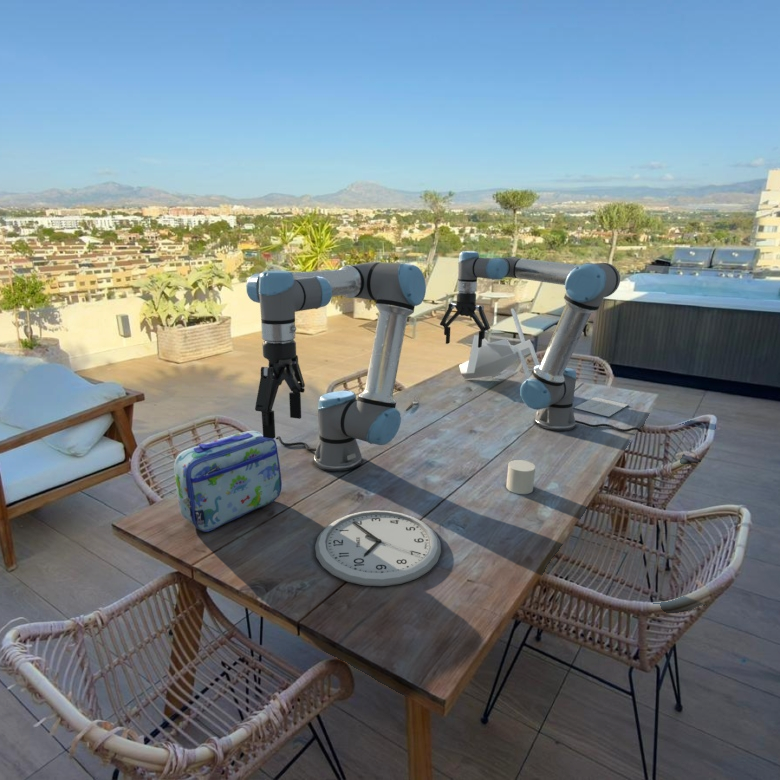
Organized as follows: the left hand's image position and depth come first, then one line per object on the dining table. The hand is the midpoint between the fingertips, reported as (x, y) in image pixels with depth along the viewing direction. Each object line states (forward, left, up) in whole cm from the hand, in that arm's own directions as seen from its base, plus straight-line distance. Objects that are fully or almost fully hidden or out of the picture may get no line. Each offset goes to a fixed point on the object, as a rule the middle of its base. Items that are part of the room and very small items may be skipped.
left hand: (283, 427), depth 126 cm
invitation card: (+86, +126, -26) cm, 154 cm away
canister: (+56, +39, -26) cm, 73 cm away
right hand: (+28, +102, +1) cm, 106 cm away
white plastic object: (+40, +142, -26) cm, 150 cm away
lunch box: (-16, 0, -26) cm, 31 cm away
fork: (+8, +99, -26) cm, 103 cm away
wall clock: (+25, -2, -26) cm, 36 cm away
